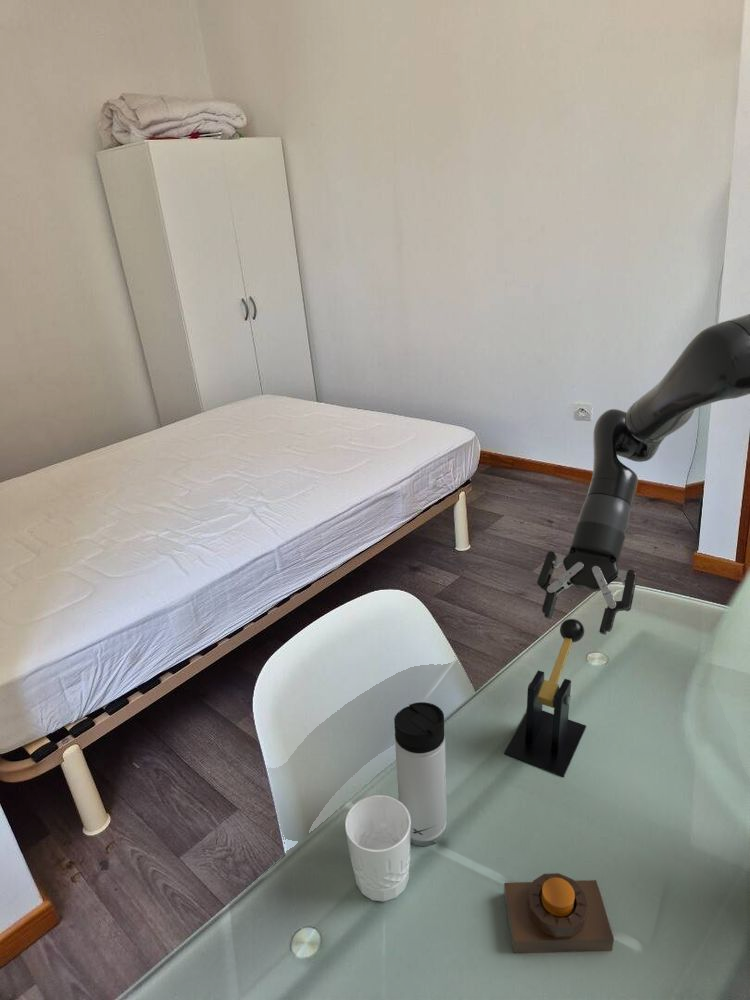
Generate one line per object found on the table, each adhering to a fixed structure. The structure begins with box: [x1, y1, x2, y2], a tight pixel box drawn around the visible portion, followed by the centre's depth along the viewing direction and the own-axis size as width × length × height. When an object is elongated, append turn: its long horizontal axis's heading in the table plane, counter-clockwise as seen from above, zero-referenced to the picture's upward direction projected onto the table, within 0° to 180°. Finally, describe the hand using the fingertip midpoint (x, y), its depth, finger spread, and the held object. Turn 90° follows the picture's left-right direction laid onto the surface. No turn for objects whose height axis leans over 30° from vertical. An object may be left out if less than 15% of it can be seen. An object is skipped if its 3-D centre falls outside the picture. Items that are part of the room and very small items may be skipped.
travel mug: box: [393, 701, 448, 847], centre depth 88 cm, size 6×7×20 cm
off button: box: [541, 878, 575, 917], centre depth 78 cm, size 4×4×2 cm
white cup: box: [344, 794, 412, 903], centre depth 84 cm, size 8×8×10 cm
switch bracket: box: [503, 670, 587, 778], centre depth 102 cm, size 11×9×12 cm
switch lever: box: [538, 618, 585, 709], centre depth 103 cm, size 14×4×4 cm, turn 147°
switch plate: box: [503, 872, 615, 954], centre depth 79 cm, size 11×7×4 cm, turn 89°
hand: (574, 625), depth 106 cm, fingers open, 8 cm apart
